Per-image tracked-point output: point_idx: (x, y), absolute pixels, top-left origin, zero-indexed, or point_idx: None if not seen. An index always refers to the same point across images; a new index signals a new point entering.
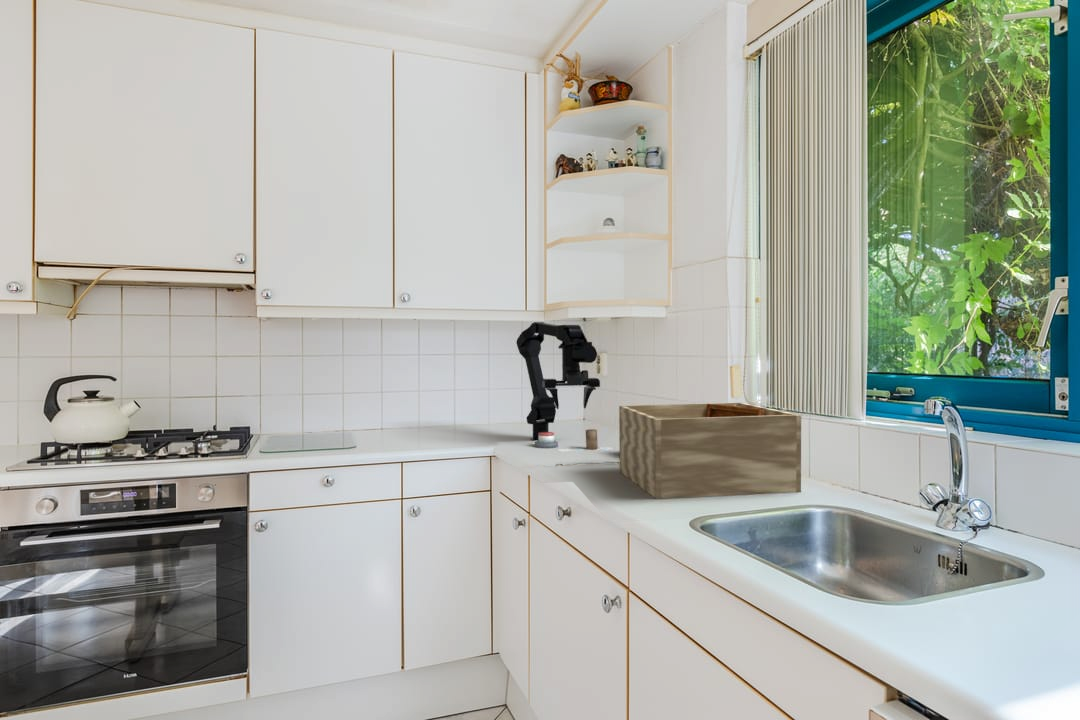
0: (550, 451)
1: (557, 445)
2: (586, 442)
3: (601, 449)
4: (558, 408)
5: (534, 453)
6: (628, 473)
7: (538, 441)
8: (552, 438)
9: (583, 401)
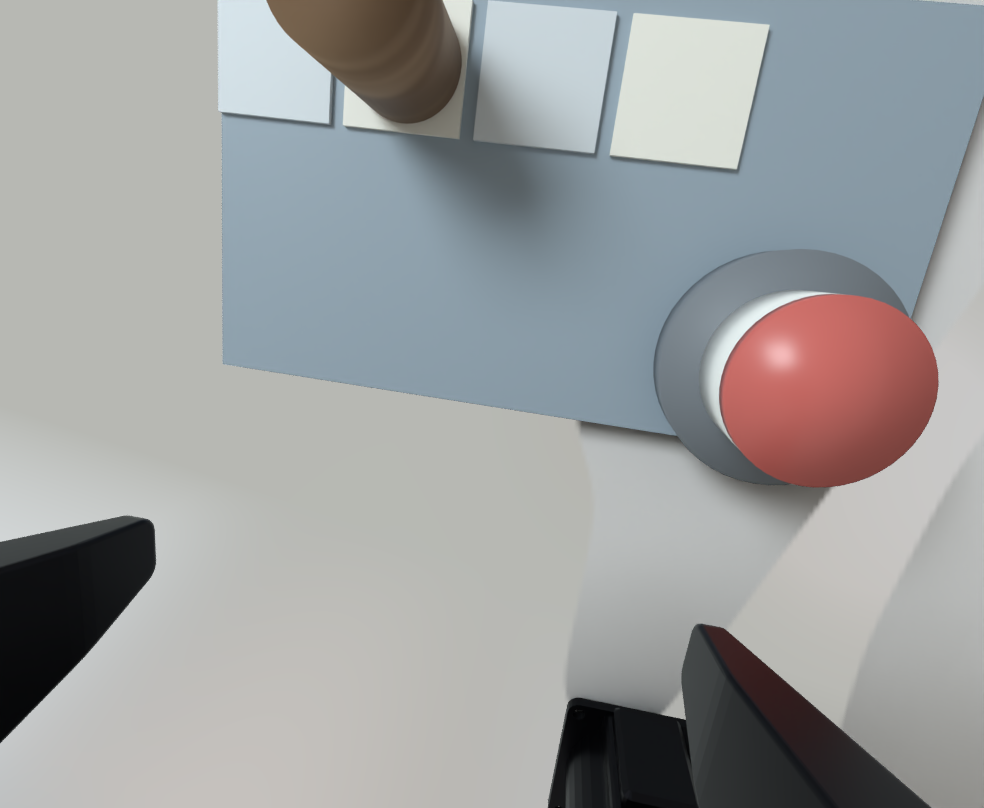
0: None
1: (683, 300)
2: (450, 33)
3: None
4: (702, 624)
5: (947, 224)
6: None
7: None
8: (761, 307)
9: (36, 697)
